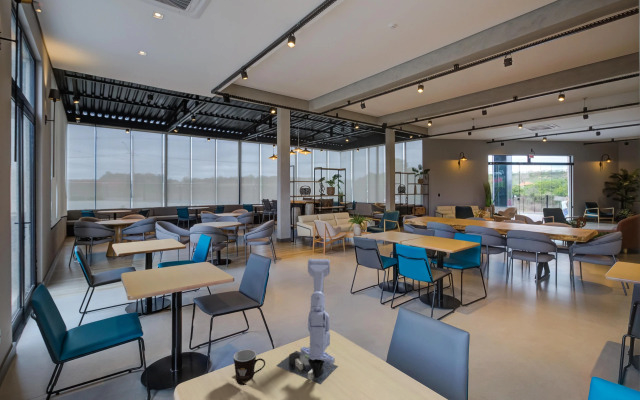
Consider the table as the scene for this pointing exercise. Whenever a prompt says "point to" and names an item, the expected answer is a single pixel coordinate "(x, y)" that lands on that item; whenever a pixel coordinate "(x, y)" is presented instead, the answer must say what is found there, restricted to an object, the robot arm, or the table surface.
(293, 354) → the knob
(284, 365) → the plate
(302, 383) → the table surface
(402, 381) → the table surface
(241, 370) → the coffee mug
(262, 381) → the table surface
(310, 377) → the knob
